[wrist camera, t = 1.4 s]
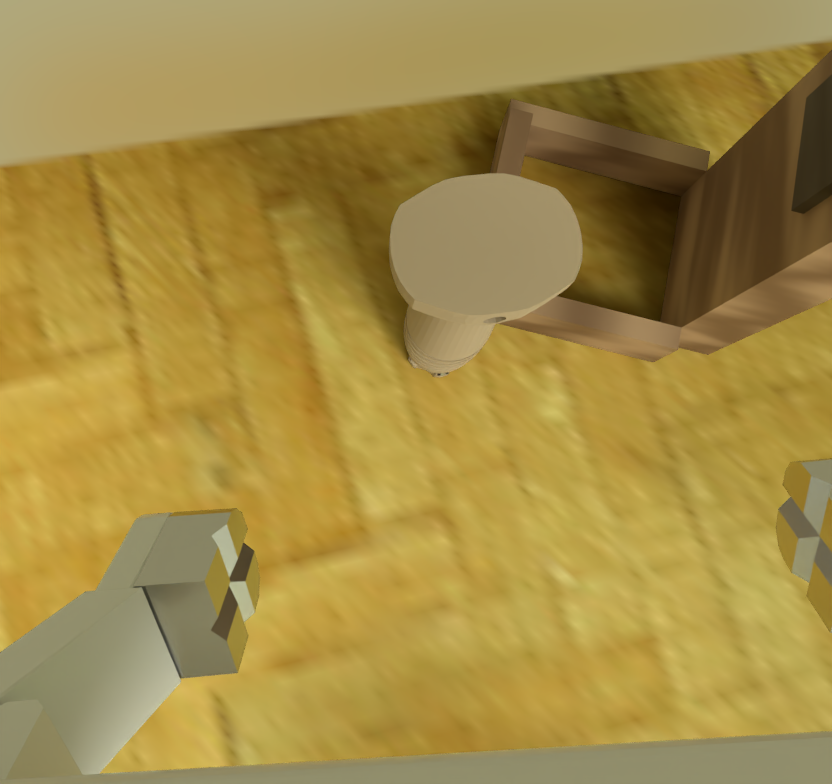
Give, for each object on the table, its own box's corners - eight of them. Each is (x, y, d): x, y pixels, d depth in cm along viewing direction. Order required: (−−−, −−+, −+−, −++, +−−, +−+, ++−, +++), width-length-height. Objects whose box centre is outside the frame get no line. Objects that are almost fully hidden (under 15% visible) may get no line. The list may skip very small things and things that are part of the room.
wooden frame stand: (458, 313, 38) (596, 48, 16) (499, 129, 40) (670, -319, 19) (704, 375, 39) (1148, 197, 17) (732, 190, 41) (1158, -173, 19)
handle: (499, 385, 38) (594, 301, 23) (382, 401, 37) (401, 325, 22) (484, 300, 38) (567, 165, 24) (369, 314, 38) (380, 184, 23)
